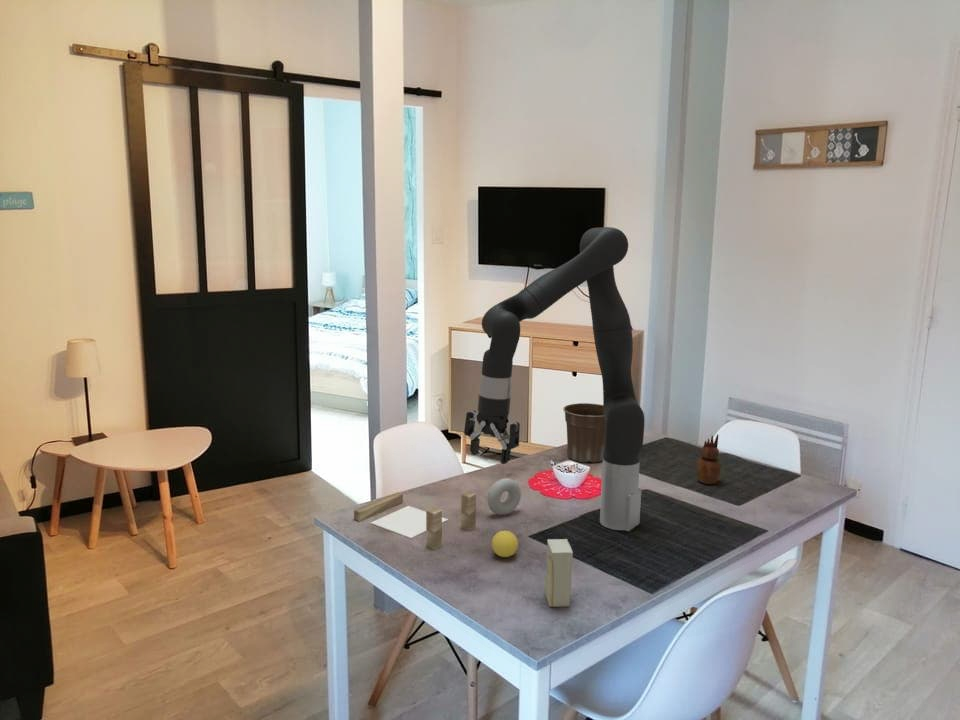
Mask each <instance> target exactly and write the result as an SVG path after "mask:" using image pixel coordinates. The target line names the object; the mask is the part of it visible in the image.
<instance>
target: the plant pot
mask: <svg viewBox="0 0 960 720" xmlns="http://www.w3.org/2000/svg"><path fill="white" fill-rule="evenodd" d="M563 412H564V420H565V423H566V440H567V441H566V442H567V445H566V446H567V456H568V458H569V459H570V460H573V461H574V462H577V463H579V462H580V463H586V464H587V463H588V462H591V463H592V464H594V463H600V462H603V449H604V447H605V442H606V421H605V419H604V414H603V404H598V403H587V402H585V403H584V402H582V403H581V402H580V403H572V404H570V403H569V404H567V405H565V406H564V407H563Z"/></svg>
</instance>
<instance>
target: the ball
mask: <svg viewBox="0 0 960 720" xmlns="http://www.w3.org/2000/svg"><path fill="white" fill-rule="evenodd" d="M491 540H492V541H491V546H492V550H493V552H494V553H495V555H497V556H498V557H501V558H508V557H509V558H510V557H511V556H513V555H514V554H515V553H516V552H517V550H518V547H519V542H518V539H517V536H516V535H515V533H513V532H512V531H509V530H500V531H498V532H497V533H496V534H495V535H494V536H493V538H492V539H491Z"/></svg>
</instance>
